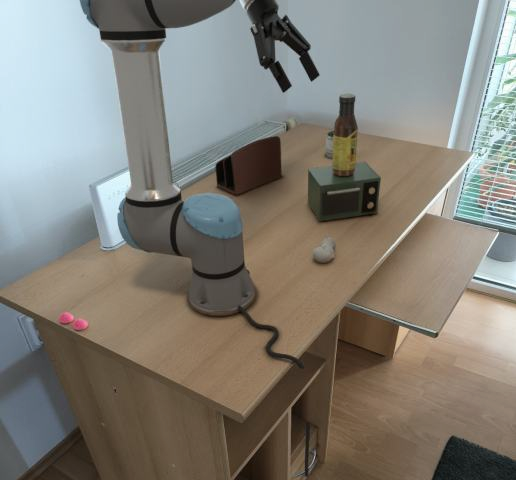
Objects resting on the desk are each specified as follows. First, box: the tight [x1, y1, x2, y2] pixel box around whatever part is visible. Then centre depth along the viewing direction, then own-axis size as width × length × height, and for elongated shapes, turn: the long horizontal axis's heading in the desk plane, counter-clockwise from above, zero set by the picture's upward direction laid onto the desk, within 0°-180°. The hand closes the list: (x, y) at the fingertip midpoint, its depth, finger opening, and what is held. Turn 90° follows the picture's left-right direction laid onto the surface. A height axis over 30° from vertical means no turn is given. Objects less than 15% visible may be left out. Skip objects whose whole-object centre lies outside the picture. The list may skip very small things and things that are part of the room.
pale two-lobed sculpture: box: [312, 237, 337, 264], centre depth 127 cm, size 4×8×5 cm
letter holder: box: [214, 135, 283, 196], centre depth 162 cm, size 10×20×14 cm, turn 131°
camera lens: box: [325, 130, 334, 159], centre depth 177 cm, size 6×6×8 cm
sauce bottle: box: [331, 93, 359, 177], centre depth 134 cm, size 7×6×20 cm
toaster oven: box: [307, 161, 382, 223], centre depth 143 cm, size 14×17×11 cm
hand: (302, 84), depth 128 cm, fingers open, 13 cm apart
